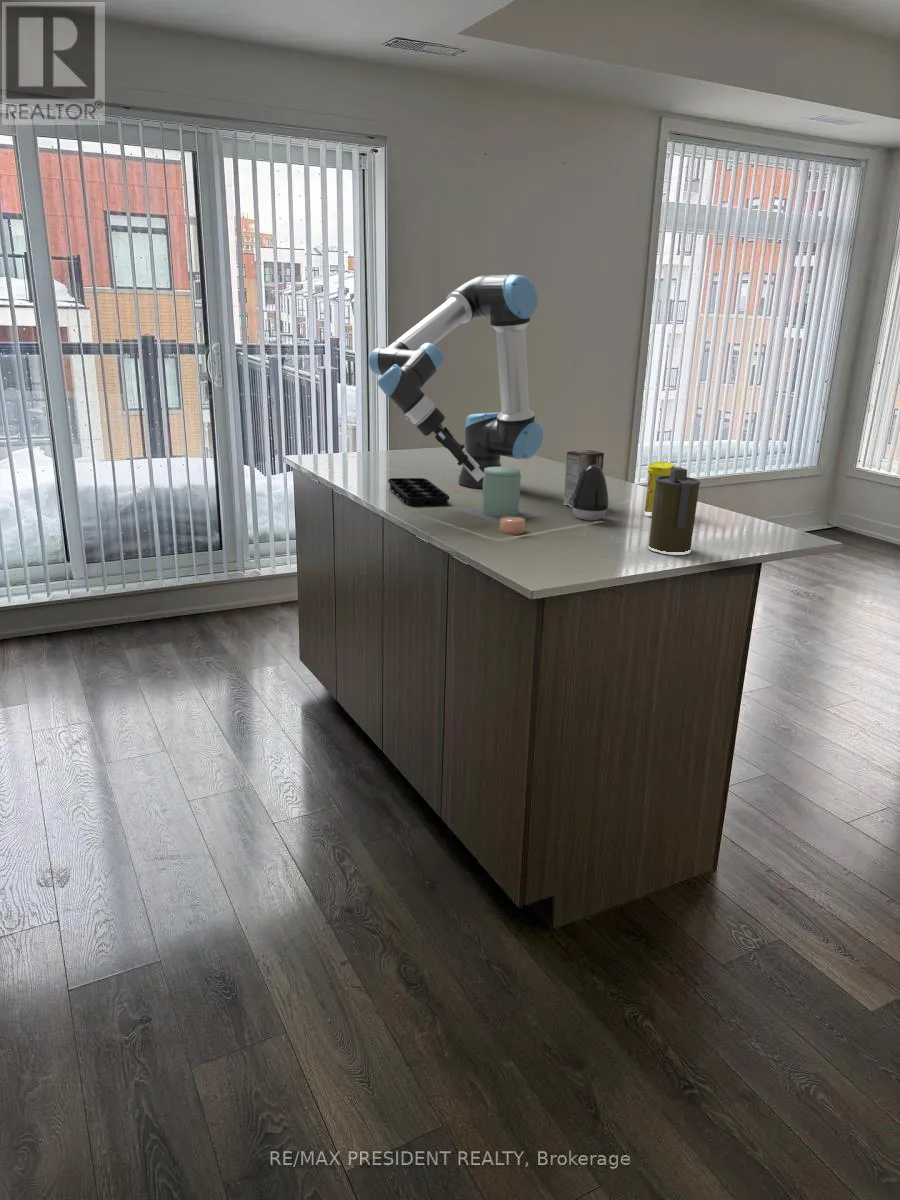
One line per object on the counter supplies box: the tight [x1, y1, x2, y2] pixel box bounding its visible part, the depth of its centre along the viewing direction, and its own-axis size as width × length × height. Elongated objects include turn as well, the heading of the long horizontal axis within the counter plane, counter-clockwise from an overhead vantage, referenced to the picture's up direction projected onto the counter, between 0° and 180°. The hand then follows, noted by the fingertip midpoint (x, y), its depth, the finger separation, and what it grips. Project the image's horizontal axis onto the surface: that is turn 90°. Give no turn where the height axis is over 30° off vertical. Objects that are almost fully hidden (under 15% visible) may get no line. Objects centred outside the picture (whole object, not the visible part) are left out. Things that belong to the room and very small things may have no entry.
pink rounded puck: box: [499, 517, 526, 535], centre depth 215 cm, size 6×6×4 cm
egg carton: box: [387, 477, 450, 507], centre depth 252 cm, size 18×30×4 cm, turn 28°
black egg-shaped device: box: [571, 465, 610, 521], centre depth 230 cm, size 10×10×15 cm
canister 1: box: [644, 461, 676, 512], centre depth 239 cm, size 6×11×14 cm, turn 154°
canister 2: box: [648, 466, 701, 552], centre depth 201 cm, size 11×10×20 cm
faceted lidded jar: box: [481, 466, 522, 517], centre depth 232 cm, size 10×10×12 cm
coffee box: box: [563, 449, 605, 505], centre depth 246 cm, size 9×6×16 cm
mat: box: [455, 505, 545, 524], centre depth 234 cm, size 18×18×1 cm
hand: (478, 473), depth 229 cm, fingers open, 13 cm apart
